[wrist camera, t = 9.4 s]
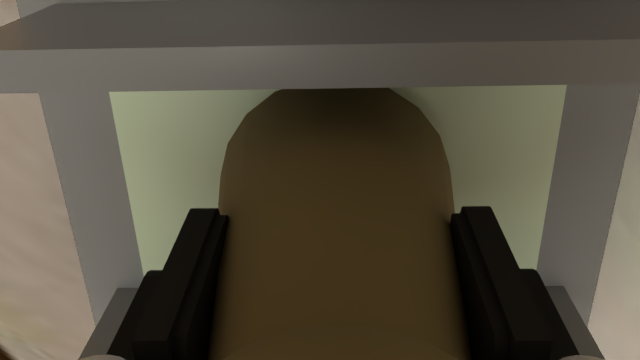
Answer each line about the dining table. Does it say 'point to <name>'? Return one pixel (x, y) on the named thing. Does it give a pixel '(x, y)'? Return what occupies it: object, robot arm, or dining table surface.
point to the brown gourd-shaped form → (337, 233)
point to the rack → (320, 73)
